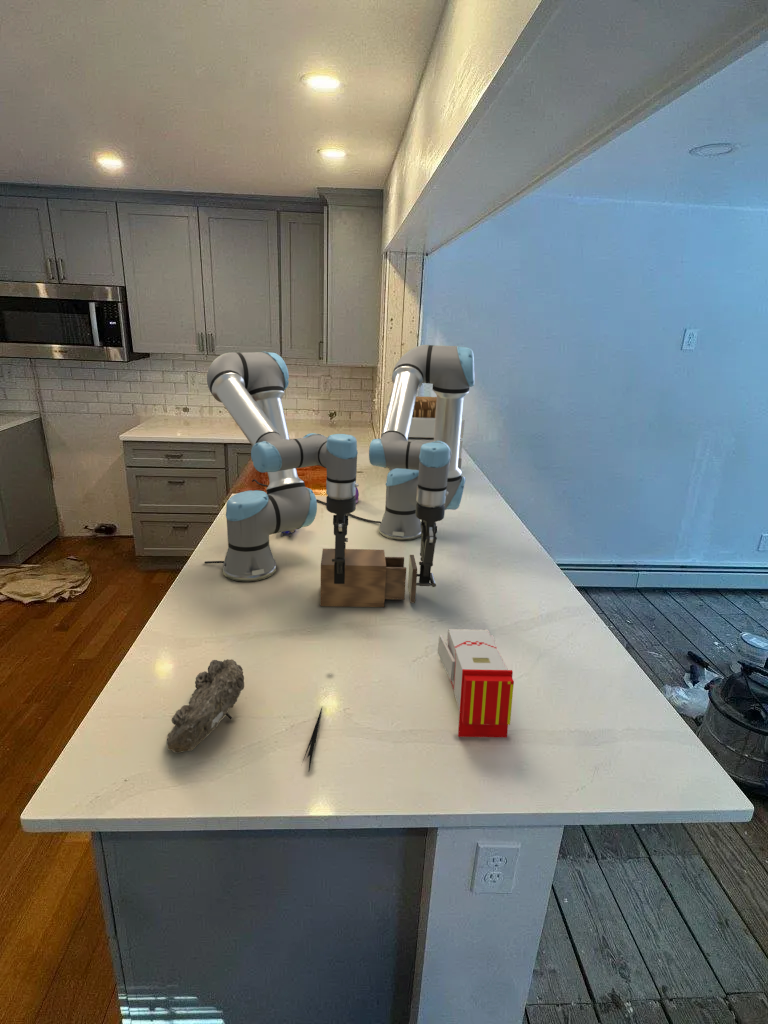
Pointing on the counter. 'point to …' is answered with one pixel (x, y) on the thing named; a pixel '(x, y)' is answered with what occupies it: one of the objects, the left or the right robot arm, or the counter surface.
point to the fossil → (206, 705)
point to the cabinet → (354, 579)
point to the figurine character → (288, 532)
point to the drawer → (402, 578)
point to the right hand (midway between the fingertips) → (424, 584)
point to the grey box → (427, 423)
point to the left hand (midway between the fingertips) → (339, 573)
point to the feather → (313, 740)
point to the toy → (478, 682)
